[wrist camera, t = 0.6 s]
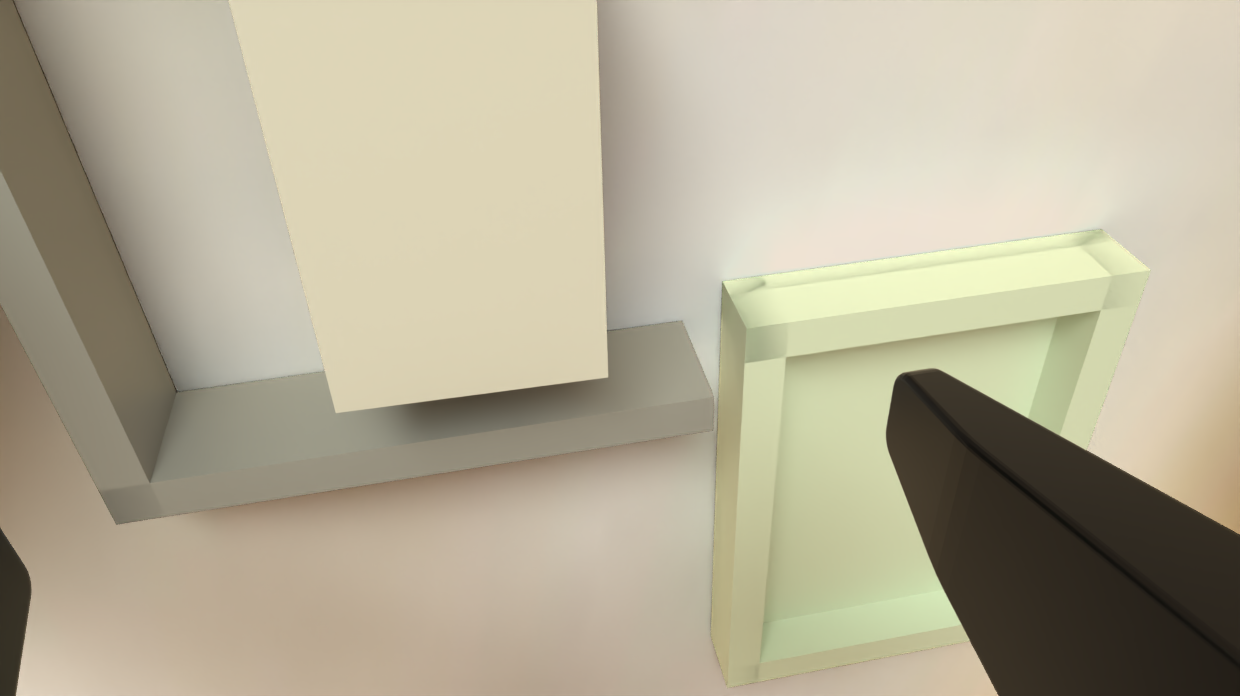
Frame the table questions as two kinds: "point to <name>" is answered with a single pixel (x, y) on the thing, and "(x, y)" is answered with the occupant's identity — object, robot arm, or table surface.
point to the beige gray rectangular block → (438, 188)
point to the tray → (882, 430)
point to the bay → (267, 409)
